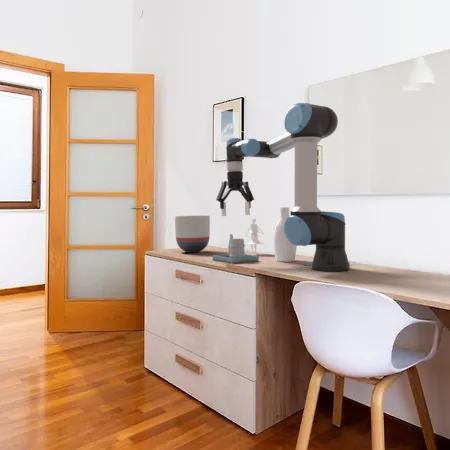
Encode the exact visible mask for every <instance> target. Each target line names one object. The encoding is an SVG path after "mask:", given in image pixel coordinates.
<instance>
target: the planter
mask: <svg viewBox="0 0 450 450" xmlns="http://www.w3.org/2000/svg"><path fill="white" fill-rule="evenodd" d="M210 220H211V219H210V215H206V214H205V215H203V214H201V215H175V216H174V229H175V232H174V234H175V240H176V244H177V246H178V247H179V248H180V250H182V251H184V252H185V253H191V252H193V253H200V252H202V251H203V250H205V249H206V248H207V246H208V245H209V242H210V236H211V235H210V234H211V229H210V228H211V227H210V225H211V224H210V223H211V222H210Z"/></svg>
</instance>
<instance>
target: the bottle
mask: <svg viewBox="0 0 450 450" xmlns="http://www.w3.org/2000/svg"><path fill="white" fill-rule="evenodd" d="M288 217H290V207H288V206H287V207H284V206H283V207H279V219H278V221H277V222H276V224H275V228H274V231H273V238H272V240H273V241H272V242H273V251H274V252H273V253H274V257H275V261H276V262H278V261H281V262H280V263H290V262H291V263H293V262H295V260H296V256H297V255H296V254H297V248H298V247H297V245H294V244H292V243H291V242H290V241H289V239H287V237H286V235H285V231H284V224H285V221H286V219H287V218H288ZM292 261H293V262H292Z"/></svg>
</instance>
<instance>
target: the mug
mask: <svg viewBox="0 0 450 450" xmlns="http://www.w3.org/2000/svg"><path fill="white" fill-rule="evenodd" d="M245 246H246V245H245V239H244V238H234V236H233V234H232V233H230V234H229V241H228V254H230V255H229V256H230V258H243V257H245V256H246V255H245Z"/></svg>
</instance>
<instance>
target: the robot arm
mask: <svg viewBox="0 0 450 450" xmlns="http://www.w3.org/2000/svg"><path fill="white" fill-rule="evenodd" d="M338 119H339V118H338V116H337V114H336V112H335V111H334V110H333V109H332V108H330V107H328V106H324V105H318V104H313V103H308V102H297V103H295V104H292V106H291V107H290V108H289V109H288V110H287V112H286V114H285V116H284V122H283V123H284V124H283V125H284V129H285V130H286V132H284V133H283V134H280V135H279V136H276V137H274V138H272V139H269V140H268V141H267V140H266V141H263V140H257V139H256V138H247V139H245V140H244V139H243V140H242V139H241V138H240V137H239V138H238V137H233V138H232V137H231V138H228V139H227V140H226V146H225V150H226V151H225V152H226V171H227V172H226V178H227V181H226V180H224V181H221V186H220V189H219V191H218V194H217V196H216V201H218V202H219V207H220V209H221V217H227V201H226V200H227V198H228V196H230V194H231V192H239V193H240V194H241V196H242V197H243V198H244V201H245V202H244V212H245V213H244V215H245V216H250V209H251V208H252V207H251V206H252V205H251V204H252V203H251V202H252V201H255V198H254V196H253V193H252V191H251V189H250V185H249V181H248V180H247V181H243V178H244V175H243V174H244V173H243V170H244V167H243V158H247V157H248V158H262V159H263V158H266V159H277V158H279V157H280V155H281V154H282V153H284V152H286V151H289V150H292V149H294V206H293V208H292V209H290V214H289V216H290V217H288V218H287V219H286V221H285V224H284V231H285V235H286V237H287V239H289V241H290V242H291V243H292V244H294V245H297V246H303V247H306V246H311V245H312V246H313V245H314V246H315V252H314V254H313V258H312V259H313V260H312V262H311V269H312V270H314V271H321V272H344V271H349V270H350V269H351V264H350V261H349V259H348V256H347V255H348V254H347V252H346V220H345V219H346V218H345V215H344V214H343V213H340V212H336V211H323V210H321V209H320V208H319V207H318V144H319V143H320V141H321V140H322V139H325V138H328V137H329V136H332V135H333V134H334V133H335V132H336V129H337V127H338V123H339V120H338ZM227 186H228V187H227Z"/></svg>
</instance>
